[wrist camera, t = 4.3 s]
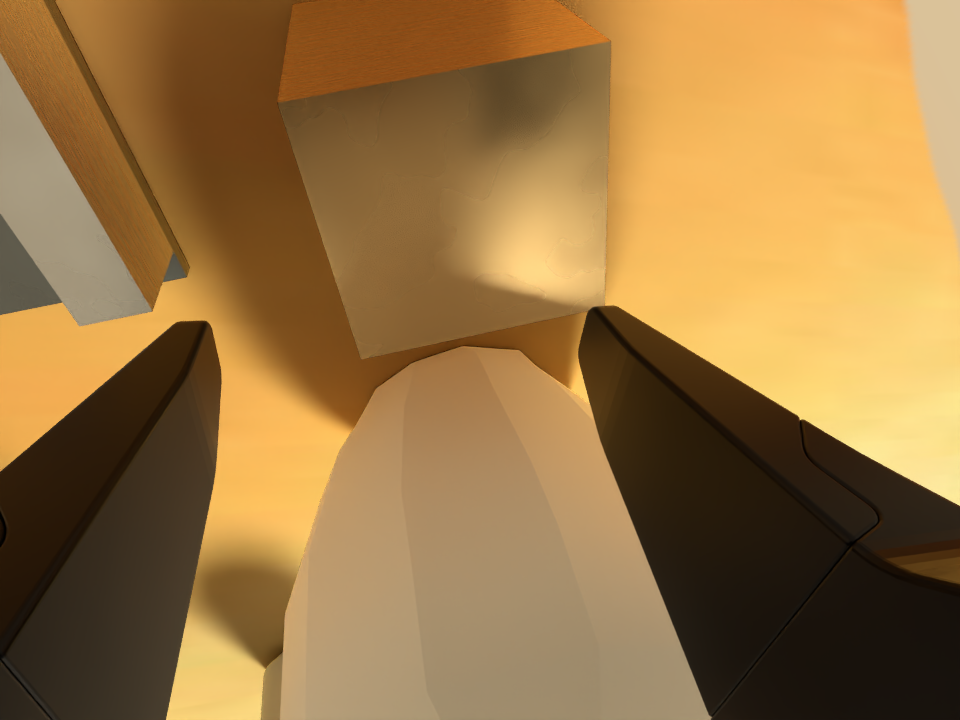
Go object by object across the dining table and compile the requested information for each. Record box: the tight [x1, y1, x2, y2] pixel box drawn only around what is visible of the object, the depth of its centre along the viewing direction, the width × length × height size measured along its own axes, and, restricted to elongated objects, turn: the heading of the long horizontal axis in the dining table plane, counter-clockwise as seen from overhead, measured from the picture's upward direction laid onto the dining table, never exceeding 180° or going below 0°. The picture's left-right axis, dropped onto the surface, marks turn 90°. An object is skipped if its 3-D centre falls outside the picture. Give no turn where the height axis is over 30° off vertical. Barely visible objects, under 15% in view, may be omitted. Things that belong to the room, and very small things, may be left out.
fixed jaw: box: [0, 0, 173, 326], centre depth 15 cm, size 10×2×3 cm, turn 7°
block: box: [277, 0, 611, 360], centre depth 16 cm, size 6×6×8 cm
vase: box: [280, 346, 712, 720], centre depth 19 cm, size 14×14×25 cm
